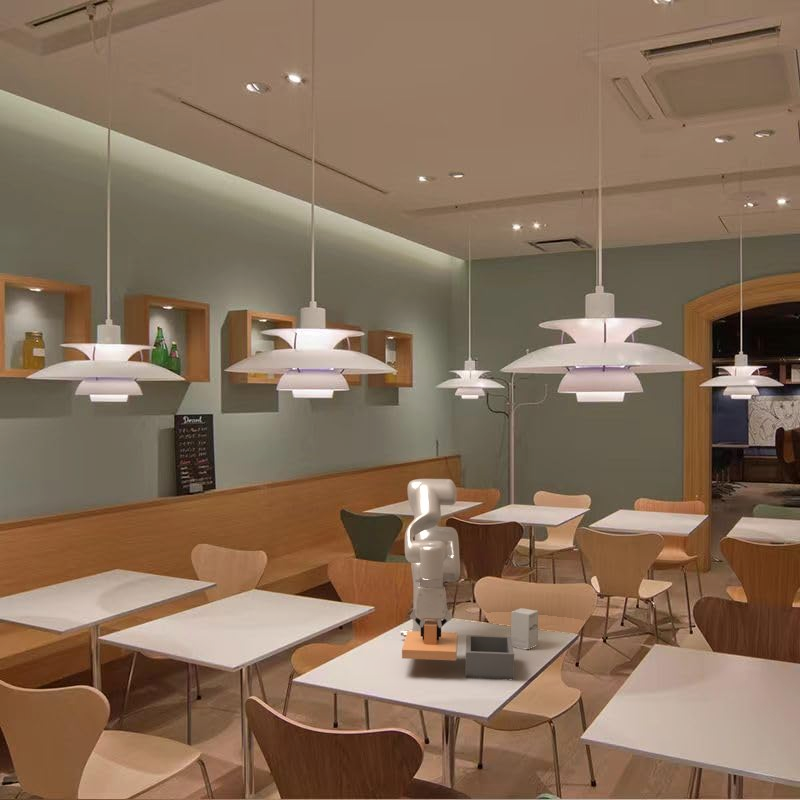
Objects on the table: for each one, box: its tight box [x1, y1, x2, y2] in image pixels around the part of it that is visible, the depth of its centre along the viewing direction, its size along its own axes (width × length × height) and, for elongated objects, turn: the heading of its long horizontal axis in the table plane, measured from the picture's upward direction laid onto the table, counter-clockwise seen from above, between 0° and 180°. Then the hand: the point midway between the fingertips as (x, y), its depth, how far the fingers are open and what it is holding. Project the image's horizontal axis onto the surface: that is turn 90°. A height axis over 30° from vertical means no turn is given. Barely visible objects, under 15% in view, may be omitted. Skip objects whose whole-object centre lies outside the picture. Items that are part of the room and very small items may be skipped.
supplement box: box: [510, 607, 539, 650], centre depth 294 cm, size 7×7×13 cm
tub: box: [465, 634, 515, 681], centre depth 269 cm, size 15×20×8 cm
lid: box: [401, 619, 459, 661], centre depth 270 cm, size 17×22×9 cm
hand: (430, 638), depth 270 cm, fingers closed on lid, 4 cm apart
